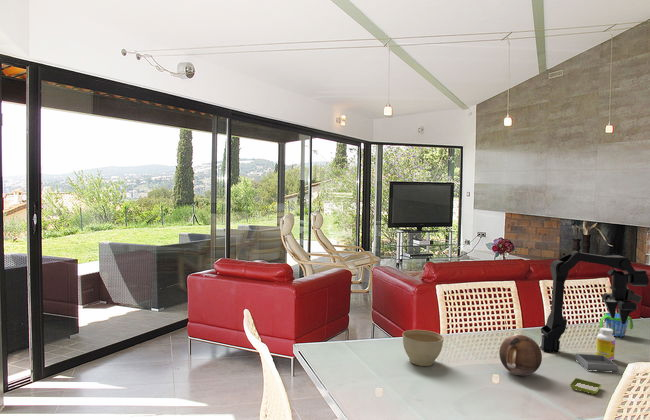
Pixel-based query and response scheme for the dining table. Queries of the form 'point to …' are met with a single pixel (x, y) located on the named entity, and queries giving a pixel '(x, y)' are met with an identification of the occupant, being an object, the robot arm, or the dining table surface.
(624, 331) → the snack cup
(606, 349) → the supplement bottle
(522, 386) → the dining table surface
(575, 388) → the green rectangular frame
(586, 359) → the tray
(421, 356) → the planter bowl
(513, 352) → the wooden sphere
